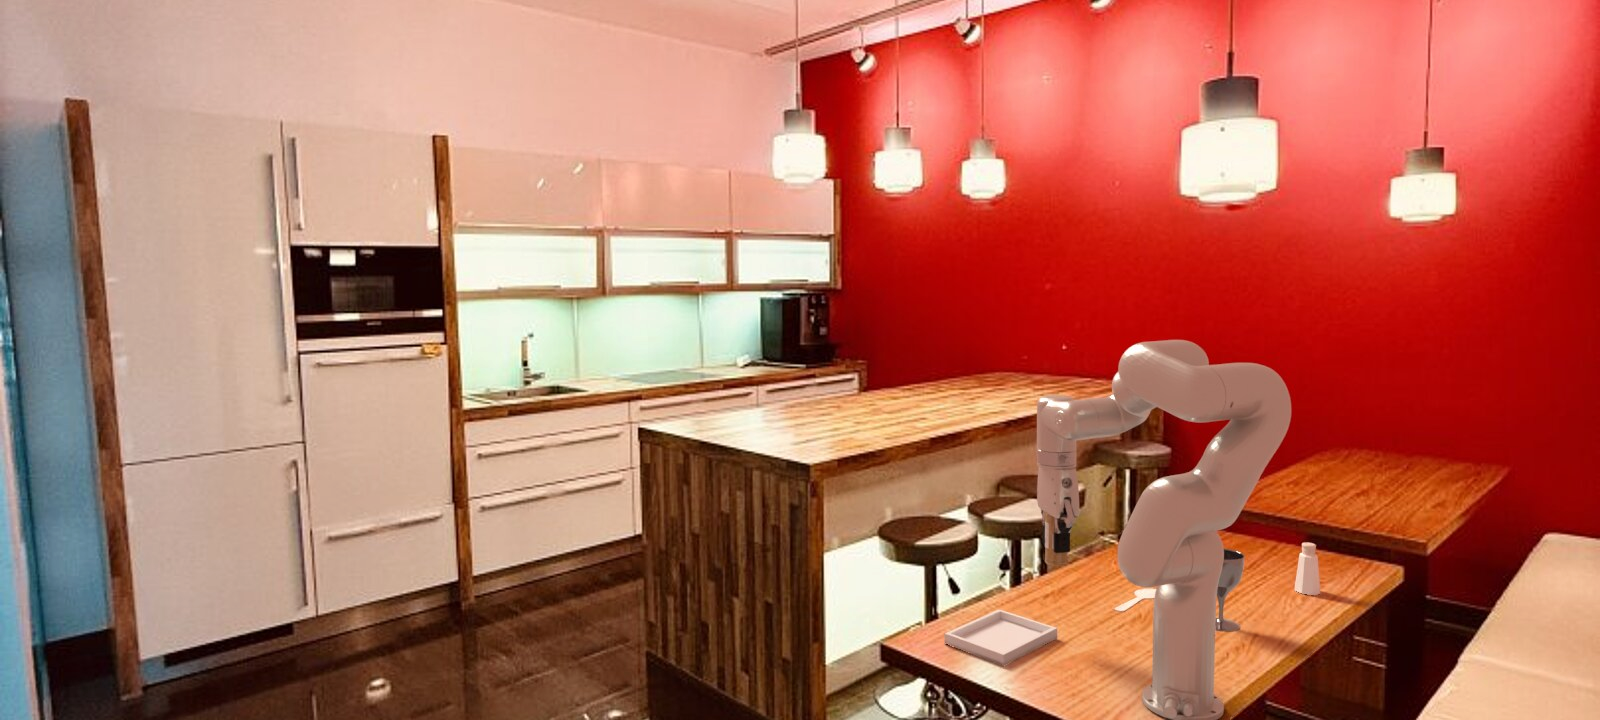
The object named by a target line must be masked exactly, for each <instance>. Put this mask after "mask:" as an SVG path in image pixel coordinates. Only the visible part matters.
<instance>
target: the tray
mask: <svg viewBox="0 0 1600 720" xmlns="http://www.w3.org/2000/svg"><path fill="white" fill-rule="evenodd" d="M1057 639H1058V627H1056V626H1052V625H1049V624H1047V623H1044V622H1040V621H1037V620H1033V619H1031V618H1027V617H1024V616H1021V615H1018V614H1015V613H1012V612H1010V611H1009V612H1008V611H1005V610H1002V609H997V610H994V611H992V612H990V613H988V614H985V615H983V616H980V617H979V618H977V619H974V620H971V621H969V622H967V623H965V624H963V625H960V626H959V627H958V626H957V628H953V629H952V630H949V631H947V632H944V644H945V643H946V644H949V645H951V646H954V647H956V648H958V649H957V650H959V649H961V650H960V651H962V650H963V651H962V652H964V651H966V652H965V653H967V652H969V653H968V654H970V653H971V654H970V655H972V654H973V656H975V655H976V656H975V657H978V656H979V657H978V658H980V657H981V658H980V659H983V660H986V661H988V662H991V663H993V664H994V663H995V664H996V665H999V666H1002V667H1005V666H1007V665H1009V664H1011V663H1012V661H1013V662H1014V660H1015V661H1017V660H1019V659H1021V658H1023V657H1024V656H1026V655H1028V654H1030V653H1032V652H1033V650H1034V651H1036V650H1038V649H1040V648H1042V647H1043V645H1044V646H1045V644H1046V645H1048V644H1049V642H1050V643H1051V641H1052V642H1053V640H1054V641H1055V640H1057ZM1047 643H1048V644H1047ZM946 644H945V645H946ZM951 646H950V647H951ZM1041 646H1042V647H1041ZM954 647H953V648H954ZM1039 647H1040V648H1039ZM956 648H955V649H956ZM1037 648H1038V649H1037ZM1031 651H1032V652H1031ZM1029 652H1030V653H1029ZM1027 653H1028V654H1027ZM1025 654H1026V655H1025ZM1018 658H1019V659H1018ZM1016 659H1017V660H1016ZM1010 662H1011V663H1010ZM1008 663H1009V664H1008ZM1006 664H1007V665H1006ZM1004 665H1005V666H1004Z"/></svg>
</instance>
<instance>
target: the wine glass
mask: <svg viewBox="0 0 1600 720" xmlns="http://www.w3.org/2000/svg"><path fill="white" fill-rule="evenodd" d="M1223 549H1224V560H1223V566H1222V570H1221V574H1220V578H1219V583H1218V589H1217V601H1218V617H1216V620H1215V631H1219V632H1227V633H1229V632H1230V633H1231V632H1236V631H1238V630H1240V629H1241V626H1240V624H1239V623H1237V622H1236V621H1235V620H1231V619H1227V618H1224V607H1225V601H1226V598H1227V597H1228V595H1229V594H1230V592H1232V591H1233V590H1234V589H1235V588H1237V587H1238V585H1239V584H1240V582H1241V580H1242V577H1243V574H1244V573H1243V572H1244V569H1245V568H1244V567H1245V555H1244V553H1243V552H1240V551H1238V550H1235V549H1230V548H1225V547H1223Z"/></svg>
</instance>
